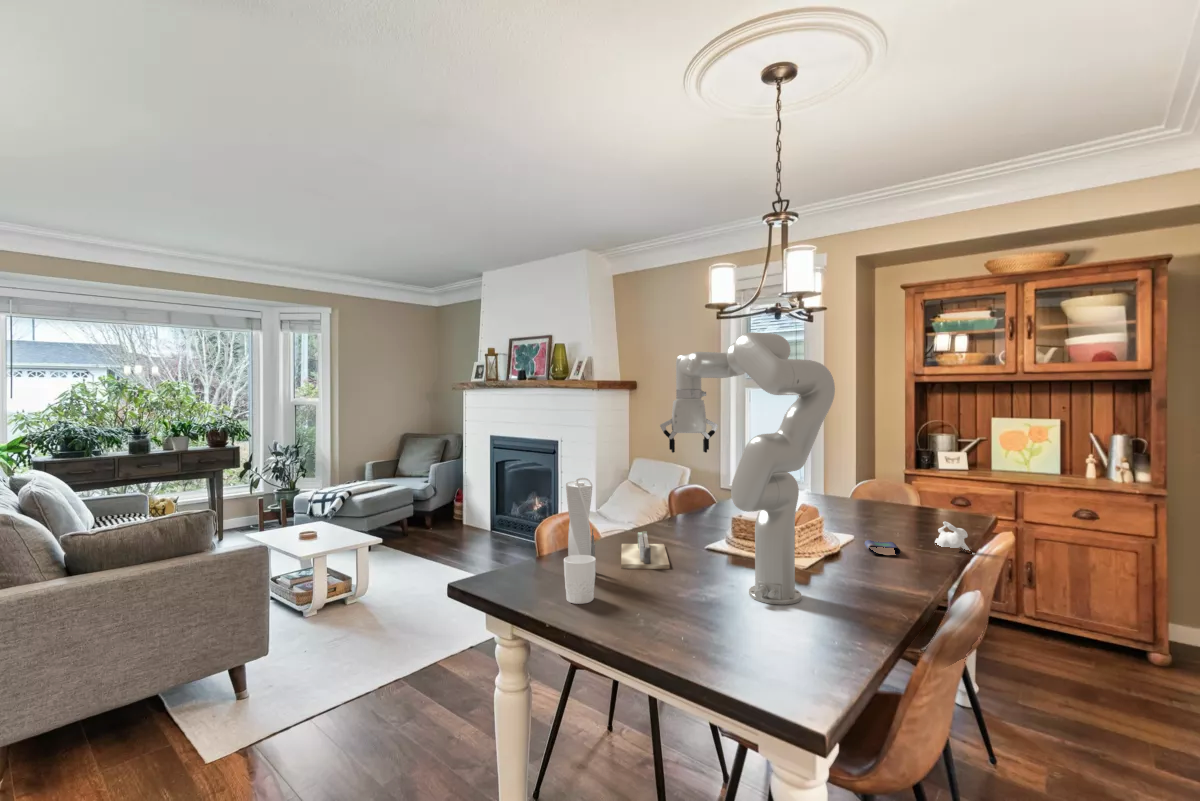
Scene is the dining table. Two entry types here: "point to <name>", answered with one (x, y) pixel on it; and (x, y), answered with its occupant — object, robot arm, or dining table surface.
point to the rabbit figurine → (952, 537)
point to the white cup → (579, 578)
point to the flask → (882, 544)
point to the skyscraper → (580, 519)
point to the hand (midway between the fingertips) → (689, 452)
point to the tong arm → (641, 546)
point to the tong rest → (652, 556)
